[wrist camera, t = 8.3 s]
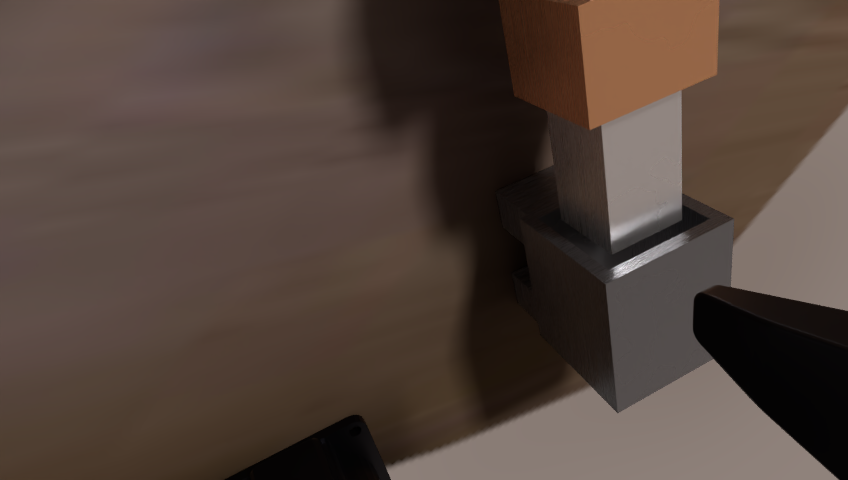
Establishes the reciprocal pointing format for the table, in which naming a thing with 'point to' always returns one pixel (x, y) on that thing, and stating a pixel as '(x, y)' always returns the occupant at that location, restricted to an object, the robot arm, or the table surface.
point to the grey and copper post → (613, 103)
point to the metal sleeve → (616, 290)
